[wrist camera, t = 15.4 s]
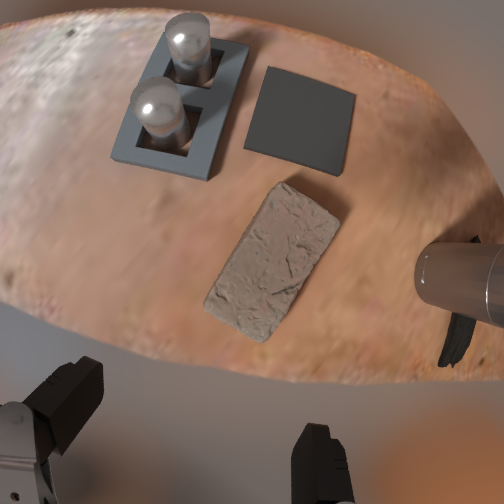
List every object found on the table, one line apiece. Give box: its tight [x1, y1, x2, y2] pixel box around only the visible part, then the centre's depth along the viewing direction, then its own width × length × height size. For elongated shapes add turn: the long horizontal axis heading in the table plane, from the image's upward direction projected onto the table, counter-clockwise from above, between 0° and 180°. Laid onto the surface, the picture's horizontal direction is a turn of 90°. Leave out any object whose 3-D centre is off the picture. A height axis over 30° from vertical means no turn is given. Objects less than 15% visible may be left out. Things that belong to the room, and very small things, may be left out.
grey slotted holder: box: [110, 32, 250, 181], centre depth 32 cm, size 12×19×2 cm, turn 166°
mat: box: [243, 66, 354, 177], centre depth 34 cm, size 12×12×1 cm
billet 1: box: [130, 76, 191, 150], centre depth 29 cm, size 5×5×10 cm
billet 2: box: [165, 12, 212, 87], centre depth 28 cm, size 5×5×10 cm
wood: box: [438, 235, 481, 368], centre depth 38 cm, size 22×7×3 cm, turn 171°
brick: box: [203, 182, 341, 343], centre depth 33 cm, size 17×8×5 cm, turn 149°
